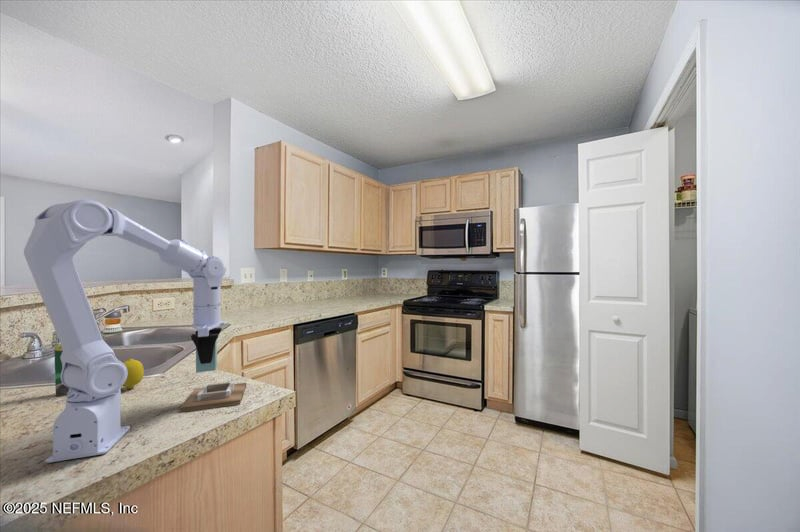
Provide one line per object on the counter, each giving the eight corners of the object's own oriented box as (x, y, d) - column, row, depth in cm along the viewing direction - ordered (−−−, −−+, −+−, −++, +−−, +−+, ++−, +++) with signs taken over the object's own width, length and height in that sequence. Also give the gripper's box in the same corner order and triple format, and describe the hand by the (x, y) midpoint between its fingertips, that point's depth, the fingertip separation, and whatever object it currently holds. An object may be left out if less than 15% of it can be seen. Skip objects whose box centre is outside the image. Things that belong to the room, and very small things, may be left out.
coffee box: (52, 397, 79) (53, 344, 79) (57, 393, 81) (58, 342, 81) (96, 390, 83) (96, 340, 83) (99, 387, 85) (100, 338, 85)
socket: (240, 404, 74) (240, 393, 74) (180, 412, 70) (180, 401, 70) (246, 386, 86) (246, 377, 86) (195, 392, 82) (195, 382, 82)
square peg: (215, 370, 76) (215, 341, 76) (196, 372, 75) (195, 343, 75) (217, 365, 80) (217, 338, 80) (198, 367, 78) (198, 339, 78)
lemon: (149, 385, 87) (149, 356, 87) (130, 393, 81) (130, 362, 81) (130, 384, 87) (130, 355, 87) (110, 392, 82) (110, 361, 82)
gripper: (223, 307, 73) (223, 366, 72) (227, 301, 86) (227, 351, 86) (186, 309, 70) (186, 371, 69) (197, 302, 83) (197, 354, 83)
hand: (207, 360), depth 77 cm, fingers closed on square peg, 4 cm apart
